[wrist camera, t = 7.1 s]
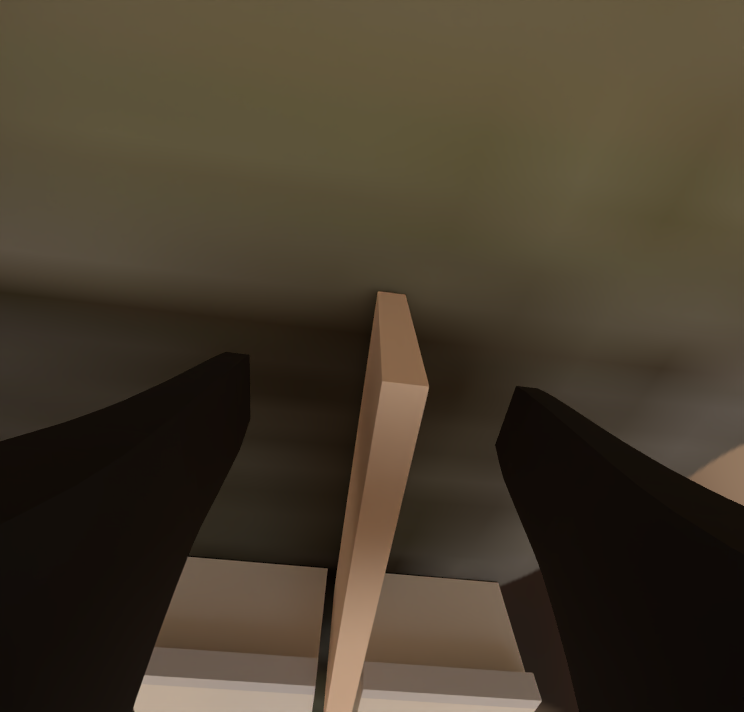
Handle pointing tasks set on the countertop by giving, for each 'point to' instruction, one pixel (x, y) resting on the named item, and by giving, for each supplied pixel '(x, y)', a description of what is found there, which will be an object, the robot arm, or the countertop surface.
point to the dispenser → (302, 639)
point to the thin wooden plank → (374, 490)
